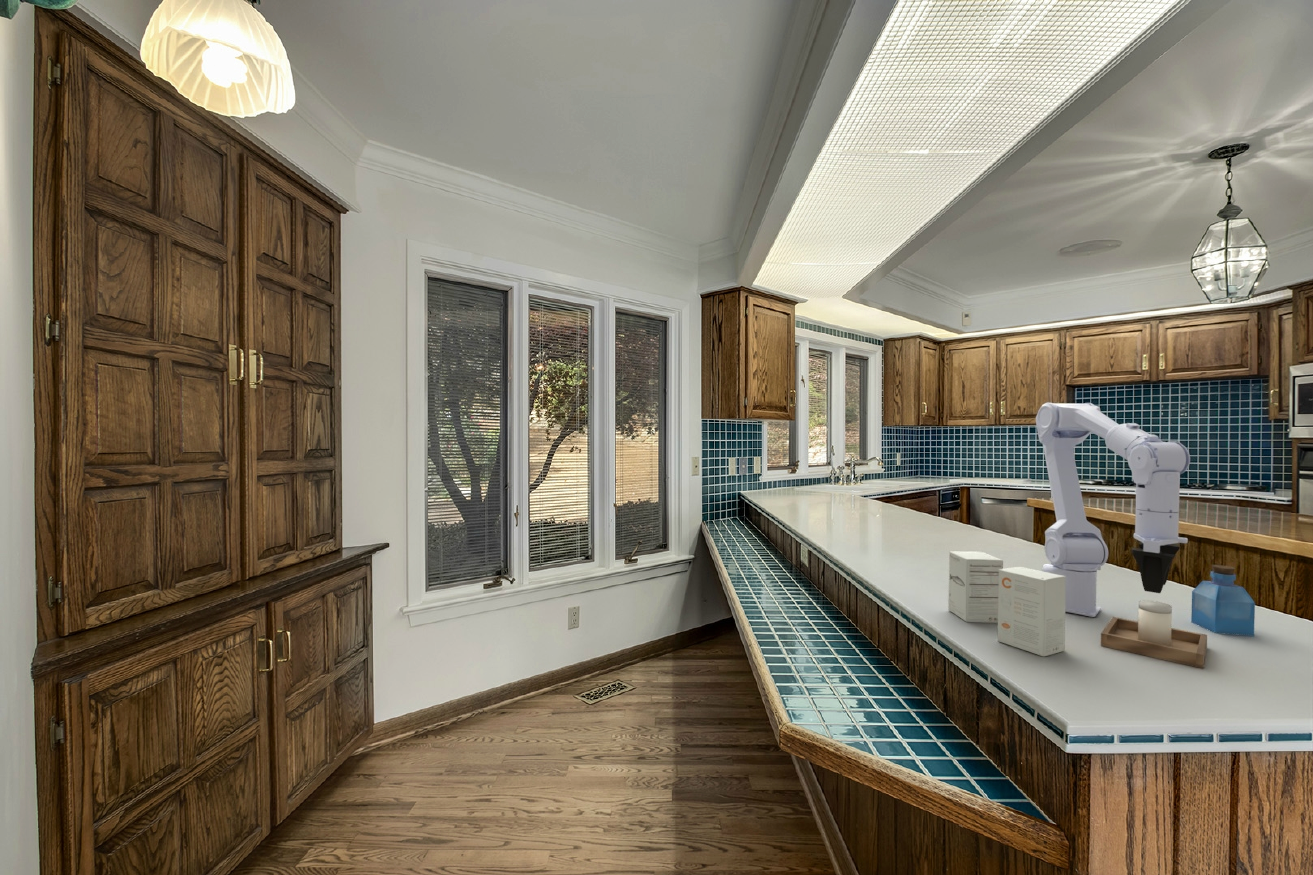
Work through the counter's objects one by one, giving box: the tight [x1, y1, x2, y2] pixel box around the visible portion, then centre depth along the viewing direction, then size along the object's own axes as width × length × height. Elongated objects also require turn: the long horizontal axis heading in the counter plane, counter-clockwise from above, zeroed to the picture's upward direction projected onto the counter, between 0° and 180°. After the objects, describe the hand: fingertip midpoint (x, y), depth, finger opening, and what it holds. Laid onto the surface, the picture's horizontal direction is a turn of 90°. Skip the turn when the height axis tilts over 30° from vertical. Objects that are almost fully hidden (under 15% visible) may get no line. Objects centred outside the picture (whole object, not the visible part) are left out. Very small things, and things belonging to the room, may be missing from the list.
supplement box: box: [947, 550, 1004, 624], centre depth 115 cm, size 7×7×13 cm
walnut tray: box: [1100, 616, 1208, 669], centre depth 100 cm, size 13×13×2 cm
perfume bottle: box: [1190, 564, 1256, 637], centre depth 110 cm, size 6×6×12 cm
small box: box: [997, 566, 1066, 657], centre depth 100 cm, size 8×6×13 cm
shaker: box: [1137, 599, 1173, 647], centre depth 100 cm, size 4×4×7 cm
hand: (1155, 587), depth 100 cm, fingers open, 7 cm apart
